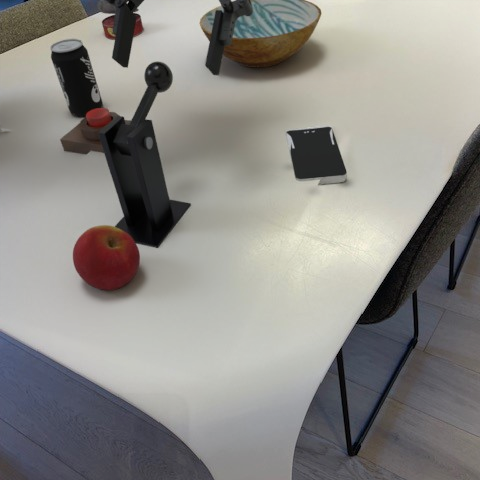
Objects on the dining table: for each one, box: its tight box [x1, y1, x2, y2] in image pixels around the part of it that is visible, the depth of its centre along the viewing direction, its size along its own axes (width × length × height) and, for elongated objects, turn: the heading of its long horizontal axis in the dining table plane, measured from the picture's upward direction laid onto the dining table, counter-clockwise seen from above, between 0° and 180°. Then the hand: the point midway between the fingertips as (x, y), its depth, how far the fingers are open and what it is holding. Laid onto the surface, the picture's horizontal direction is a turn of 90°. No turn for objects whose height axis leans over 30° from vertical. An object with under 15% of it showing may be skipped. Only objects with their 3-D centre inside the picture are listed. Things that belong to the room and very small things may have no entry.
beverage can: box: [49, 38, 103, 118], centre depth 92 cm, size 7×7×12 cm
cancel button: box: [86, 107, 112, 128], centre depth 84 cm, size 4×4×2 cm
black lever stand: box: [98, 115, 192, 249], centre depth 65 cm, size 10×8×15 cm
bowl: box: [199, 0, 323, 68], centre depth 104 cm, size 25×25×8 cm
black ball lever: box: [113, 61, 174, 156], centre depth 62 cm, size 13×4×4 cm, turn 158°
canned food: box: [96, 0, 144, 41], centre depth 123 cm, size 11×10×10 cm
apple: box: [72, 224, 141, 291], centre depth 60 cm, size 8×8×8 cm
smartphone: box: [285, 125, 348, 186], centre depth 78 cm, size 8×1×15 cm
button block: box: [59, 111, 131, 155], centre depth 86 cm, size 12×9×4 cm
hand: (164, 66), depth 64 cm, fingers open, 13 cm apart
